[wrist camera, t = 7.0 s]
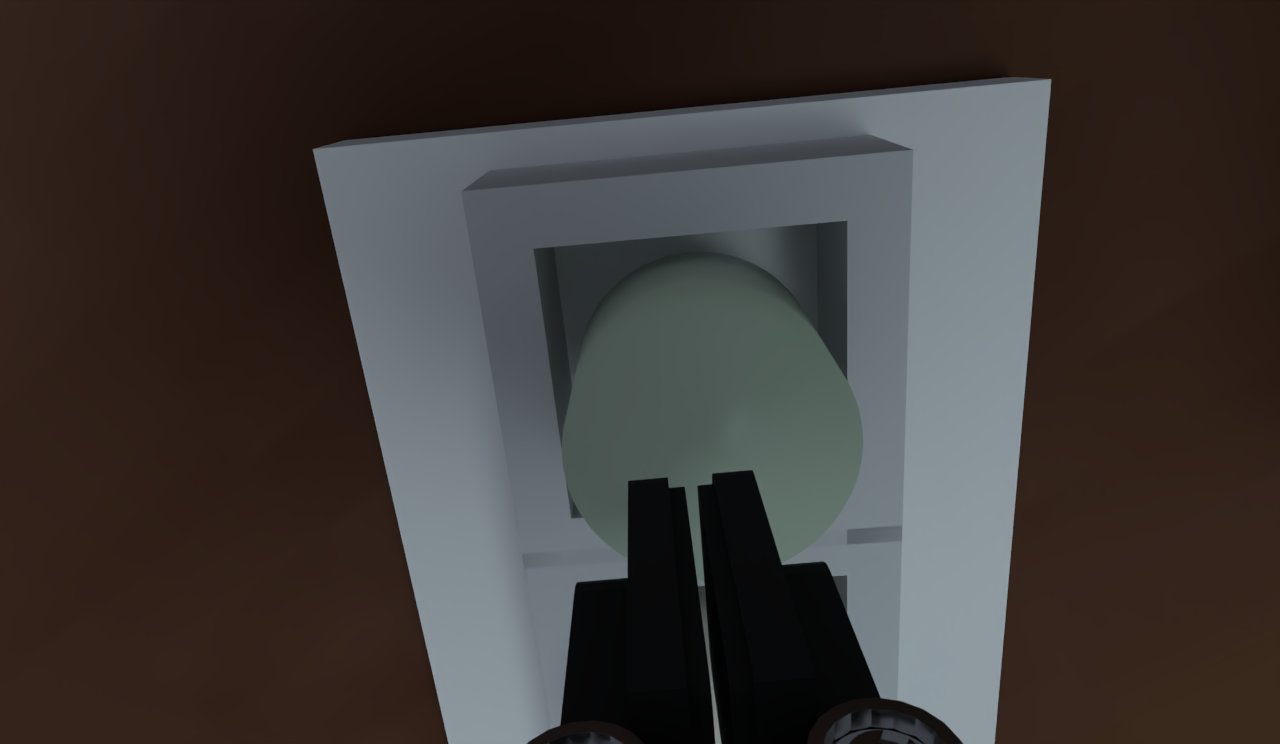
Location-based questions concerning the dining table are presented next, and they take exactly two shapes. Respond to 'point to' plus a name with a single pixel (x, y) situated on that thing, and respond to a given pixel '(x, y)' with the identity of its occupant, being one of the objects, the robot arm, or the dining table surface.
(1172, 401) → the dining table surface
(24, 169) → the dining table surface
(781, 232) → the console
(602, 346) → the sage button
